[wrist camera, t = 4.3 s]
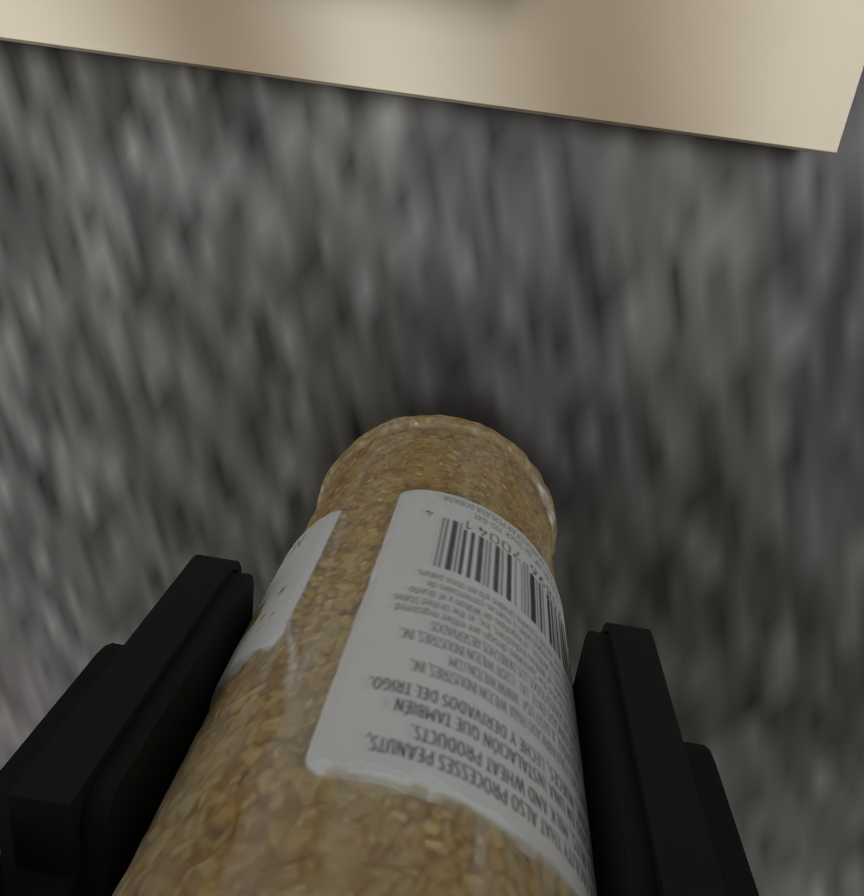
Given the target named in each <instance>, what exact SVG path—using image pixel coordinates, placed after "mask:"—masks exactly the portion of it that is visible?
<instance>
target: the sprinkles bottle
mask: <svg viewBox="0 0 864 896" xmlns="http://www.w3.org/2000/svg"><path fill="white" fill-rule="evenodd" d="M556 536H557V523H556V515H555V509H554V504H553V500H552V496H551V494H550V492H549V489H548V488H547V486H546V485H545V483H544V482H543V479H542V476H541V474H540V472H539V471H538V469H537V468H536V467H535V466H534V465H533V464H532V463H531V462H530V461H529V459H528V458H527V456H526V454H525V453H524V452H523V451H522V450H521V449H520V448H519V447H518V446H516V445H515V444H514V443H513V442H512V441H510V440H508V439H506V438H505V437H503V436H502V435H500V434H499V433H498V432H496V431H495V430H493V429H491V428H489V427H487V426H485V425H483V424H481V423H478V422H473V421H470V420H466V419H463V418H459V417H452V416H445V415H440V414H438V415H417V416H404V417H398V418H395V419H392V420H389V421H387V422H385V423H383V424H381V425H379V426H377V427H375V428H373V429H371V430H370V431H368V432H366V433H365V434H363V435H362V436H360V437H359V438H358V439H357V440H356V441H354V443H353V444H352V445H351V446H350V447H349V448H348V449H346V450H345V451H344V452H343V453H342V454H341V456H340V457H339V458H338V459H337V460H336V461H335V462H334V463H333V465H332V466H331V468H330V469H329V471H328V472H327V474H326V476H325V478H324V481H323V483H322V486H321V490H320V493H319V497H318V500H317V506H316V510H315V513H314V514H313V516H312V517H311V519H310V521H309V523H308V525H307V527H306V529H305V531H304V533H303V534H302V536H301V537H300V538H299V539H298V540H297V541H296V542H295V544H294V545H293V547H292V548H291V549H290V551H289V552H288V554H287V555H286V557H285V559H284V561H283V562H282V564H281V566H280V568H279V570H278V571H277V573H276V575H275V577H274V579H273V580H272V582H271V584H270V586H269V588H268V590H267V592H266V593H265V595H264V597H263V599H262V601H261V603H260V605H259V607H258V609H257V610H256V612H255V614H254V616H253V618H252V620H251V622H250V624H249V626H248V628H247V630H246V631H245V633H244V635H243V637H242V639H241V640H240V642H239V644H238V646H237V647H236V649H235V651H234V653H233V655H232V657H231V659H230V661H229V663H228V665H227V667H226V668H225V670H224V672H223V674H222V676H221V678H220V680H219V682H218V684H217V686H216V689H215V691H214V694H213V697H212V700H211V703H210V708H209V712H208V714H207V716H206V718H205V720H204V722H203V724H202V726H201V728H200V730H199V732H198V733H197V734H196V736H195V738H194V740H193V741H192V743H191V745H190V747H189V749H188V752H187V754H186V756H185V758H184V760H183V762H182V764H181V766H180V767H179V769H178V771H177V773H176V775H175V777H174V779H173V781H172V783H171V785H170V787H169V789H168V791H167V792H166V794H165V796H164V798H163V800H162V802H161V804H160V806H159V808H158V810H157V812H156V814H155V816H154V818H153V820H152V822H151V824H150V826H149V828H148V830H147V832H146V834H145V836H144V837H143V838H142V840H141V842H140V844H139V846H138V849H137V851H136V853H135V855H134V857H133V859H132V862H131V864H130V866H129V867H128V869H127V871H126V873H125V874H124V876H123V878H122V879H121V881H120V882H119V884H118V886H117V887H116V889H115V891H114V893H113V895H112V896H597V888H596V880H595V871H594V863H593V854H592V846H591V837H590V828H589V820H588V811H587V802H586V793H585V785H584V776H583V767H582V759H581V750H580V742H579V733H578V724H577V716H576V707H575V699H574V692H573V684H572V676H571V669H570V661H569V654H568V646H567V638H566V630H565V622H564V614H563V606H562V603H561V599H560V596H559V592H558V589H557V586H556V582H555V575H554V569H553V562H552V559H553V555H554V552H555V544H556Z"/></svg>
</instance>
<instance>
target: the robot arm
mask: <svg viewBox="0 0 864 896" xmlns="http://www.w3.org/2000/svg"><path fill="white" fill-rule="evenodd" d="M253 587H254V583H253V576H252V575H251V574H245V573H241V565H240V563H239V562H238V561H234V560H228V559H221V558H215V557H209V556H203V555H195V556H194V557H193V558H192V559H191V560H190V562H189V563H188V564H187V565H186V567H185V568H184V569H183V571H182V572H181V573H180V574H179V576H178V577H177V578H176V579H175V581H174V582H173V583H172V585H171V586H170V587H169V588H168V590H167V591H166V592H165V594H164V595H163V596H162V597H161V599H160V600H159V601H158V602H157V604H156V605H155V606H154V608H153V609H152V610H151V611H150V613H149V614H148V615H147V617H146V618H145V619H144V620H143V622H142V623H141V624H140V625H139V627H138V628H137V629H136V631H135V632H134V633H133V634H132V636H131V637H130V638H129V639H128V641H127V642H126V643H125V645H120V644H114V643H111V644H109V645H106V646H104V647H103V648H102V649H101V650H100V651H99V652H98V653H97V654H96V655H95V656H94V658H93V659H92V660H91V661H90V663H89V664H88V665H87V666H86V667H85V669H84V670H83V671H82V672H81V673H80V675H79V676H78V677H77V678H76V680H75V681H74V682H73V683H72V684H71V686H70V687H69V688H68V689H67V690H66V692H65V693H64V694H63V695H62V697H61V698H60V699H59V700H58V701H57V703H56V704H55V705H54V706H53V707H52V709H51V710H50V711H49V712H48V713H47V715H46V716H45V717H44V718H43V720H42V721H41V722H40V723H39V724H38V726H37V727H36V728H35V729H34V730H33V732H32V733H31V734H30V735H29V737H28V738H27V739H26V740H25V741H24V743H23V744H22V745H21V746H20V747H19V749H18V750H17V751H16V752H15V754H14V755H13V756H12V757H11V758H10V760H9V761H8V762H7V763H6V764H5V766H4V767H3V768H2V769H1V771H0V896H112V895H113V893H114V891H115V889H116V887H117V886H118V884H119V882H120V881H121V879H122V878H123V876H124V874H125V873H126V871H127V869H128V867H129V866H130V864H131V862H132V859H133V857H134V855H135V853H136V851H137V849H138V846H139V844H140V842H141V840H142V838H143V837H144V836H145V834H146V832H147V830H148V828H149V826H150V824H151V822H152V820H153V818H154V816H155V814H156V812H157V810H158V808H159V806H160V804H161V802H162V800H163V798H164V796H165V794H166V792H167V791H168V789H169V787H170V785H171V783H172V781H173V779H174V777H175V775H176V773H177V771H178V769H179V767H180V766H181V764H182V762H183V760H184V758H185V756H186V754H187V752H188V749H189V747H190V745H191V743H192V741H193V740H194V738H195V736H196V734H197V733H198V732H199V730H200V728H201V726H202V724H203V722H204V720H205V718H206V716H207V714H208V712H209V708H210V703H211V700H212V697H213V694H214V691H215V689H216V686H217V684H218V682H219V680H220V678H221V676H222V674H223V672H224V670H225V668H226V667H227V665H228V663H229V661H230V659H231V657H232V655H233V653H234V651H235V649H236V647H237V646H238V644H239V642H240V640H241V639H242V637H243V635H244V633H245V631H246V630H247V628H248V626H249V624H250V622H251V620H252V610H253ZM573 692H574V699H575V707H576V716H577V724H578V733H579V742H580V750H581V759H582V767H583V776H584V785H585V793H586V802H587V811H588V820H589V828H590V837H591V846H592V854H593V863H594V871H595V880H596V888H597V896H759V894H758V891H757V888H756V885H755V882H754V879H753V876H752V873H751V870H750V867H749V864H748V861H747V858H746V855H745V852H744V849H743V846H742V843H741V839H740V836H739V833H738V830H737V827H736V824H735V821H734V818H733V815H732V812H731V809H730V806H729V803H728V800H727V797H726V794H725V791H724V788H723V785H722V782H721V779H720V776H719V773H718V770H717V767H716V764H715V761H714V758H713V756H712V754H711V752H710V750H709V749H708V748H707V747H706V746H705V745H700V744H694V743H689V742H683V740H682V737H681V733H680V730H679V726H678V723H677V719H676V716H675V712H674V709H673V705H672V702H671V698H670V695H669V691H668V688H667V684H666V681H665V677H664V674H663V670H662V667H661V663H660V660H659V656H658V653H657V649H656V646H655V642H654V639H653V635H652V633H651V631H650V630H648V629H643V628H637V627H631V626H625V625H619V624H613V623H605V624H604V626H603V628H602V631H601V633H599V632H593V631H589V632H588V633H587V635H586V638H585V641H584V645H583V649H582V653H581V657H580V661H579V665H578V669H577V673H576V677H575V681H574V685H573Z"/></svg>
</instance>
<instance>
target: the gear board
mask: <svg viewBox="0 0 864 896" xmlns="http://www.w3.org/2000/svg"><path fill="white" fill-rule="evenodd" d="M0 40H3V41H10V42H17V43H24V44H32V45H39V46H46V47H53V48H61V49H68V50H75V51H82V52H89V53H97V54H104V55H111V56H118V57H126V58H133V59H140V60H147V61H155V62H162V63H169V64H176V65H184V66H191V67H198V68H205V69H213V70H220V71H227V72H234V73H241V74H249V75H256V76H263V77H270V78H278V79H285V80H292V81H299V82H307V83H314V84H321V85H328V86H336V87H343V88H350V89H357V90H364V91H372V92H379V93H386V94H393V95H401V96H408V97H415V98H422V99H430V100H437V101H444V102H451V103H459V104H466V105H473V106H480V107H488V108H495V109H502V110H509V111H516V112H524V113H531V114H538V115H545V116H553V117H560V118H567V119H574V120H582V121H589V122H596V123H603V124H611V125H618V126H625V127H632V128H640V129H647V130H654V131H661V132H668V133H676V134H683V135H690V136H697V137H705V138H712V139H719V140H726V141H734V142H741V143H748V144H755V145H763V146H770V147H777V148H784V149H791V150H799V151H815V152H837V149H838V146H839V143H840V140H841V136H842V133H843V130H844V127H845V124H846V121H847V117H848V114H849V111H850V108H851V105H852V102H853V98H854V95H855V92H856V89H857V86H858V83H859V79H860V76H861V73H862V70H863V67H864V0H0Z"/></svg>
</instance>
